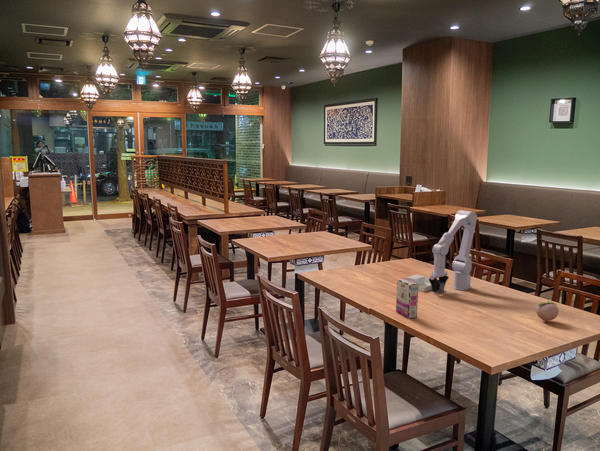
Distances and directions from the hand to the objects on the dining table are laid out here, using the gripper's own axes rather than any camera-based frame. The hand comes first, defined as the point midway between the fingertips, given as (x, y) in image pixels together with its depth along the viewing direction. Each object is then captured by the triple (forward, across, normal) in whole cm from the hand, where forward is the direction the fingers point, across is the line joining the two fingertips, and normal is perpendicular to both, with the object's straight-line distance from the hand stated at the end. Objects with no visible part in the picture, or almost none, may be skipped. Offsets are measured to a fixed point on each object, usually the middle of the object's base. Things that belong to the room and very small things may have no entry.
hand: (438, 290), depth 263 cm
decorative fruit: (+2, +4, +58) cm, 58 cm away
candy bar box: (+2, +43, +9) cm, 44 cm away
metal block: (+2, 0, 0) cm, 2 cm away
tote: (+1, -3, -13) cm, 13 cm away
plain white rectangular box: (+1, -3, -16) cm, 17 cm away
